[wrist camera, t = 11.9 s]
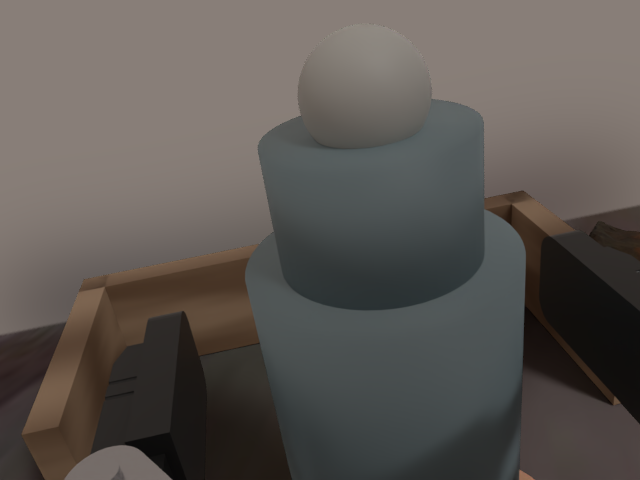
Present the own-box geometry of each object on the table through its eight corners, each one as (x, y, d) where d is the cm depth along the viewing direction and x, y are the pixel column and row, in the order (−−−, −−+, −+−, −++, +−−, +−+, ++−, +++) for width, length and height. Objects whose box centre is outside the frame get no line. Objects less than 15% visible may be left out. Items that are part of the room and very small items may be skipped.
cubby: (115, 360, 30) (83, 279, 28) (521, 273, 32) (523, 190, 30) (72, 533, 21) (21, 434, 19) (641, 398, 23) (657, 293, 21)
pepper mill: (521, 534, 17) (540, -15, 10) (505, 741, 13) (521, 46, 6) (355, 497, 19) (276, 14, 12) (294, 666, 15) (120, 75, 8)
